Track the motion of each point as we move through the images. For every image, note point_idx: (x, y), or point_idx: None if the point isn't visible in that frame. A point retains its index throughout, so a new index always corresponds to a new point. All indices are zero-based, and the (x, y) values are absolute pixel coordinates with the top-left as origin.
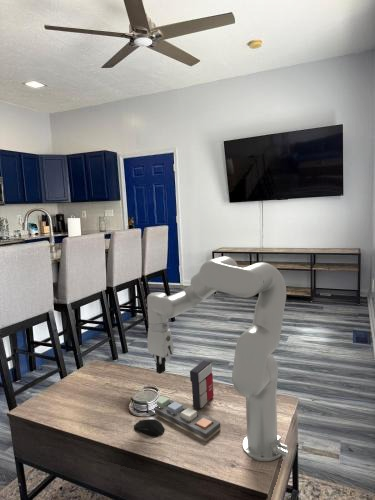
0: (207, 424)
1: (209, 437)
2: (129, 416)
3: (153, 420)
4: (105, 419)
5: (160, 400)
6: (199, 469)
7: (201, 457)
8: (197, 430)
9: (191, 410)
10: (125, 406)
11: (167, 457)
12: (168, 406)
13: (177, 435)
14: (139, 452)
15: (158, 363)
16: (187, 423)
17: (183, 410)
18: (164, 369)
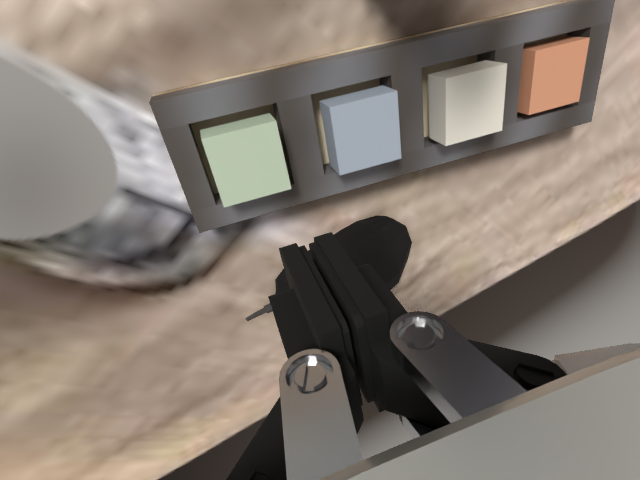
0: (579, 75)
1: None
2: (185, 302)
3: None
4: (143, 386)
5: (253, 179)
6: (603, 214)
7: (586, 181)
8: (546, 132)
9: (478, 83)
10: (67, 295)
11: (499, 267)
12: (348, 172)
13: (452, 188)
14: None
15: (381, 406)
16: (487, 143)
17: (394, 89)
18: (370, 272)
